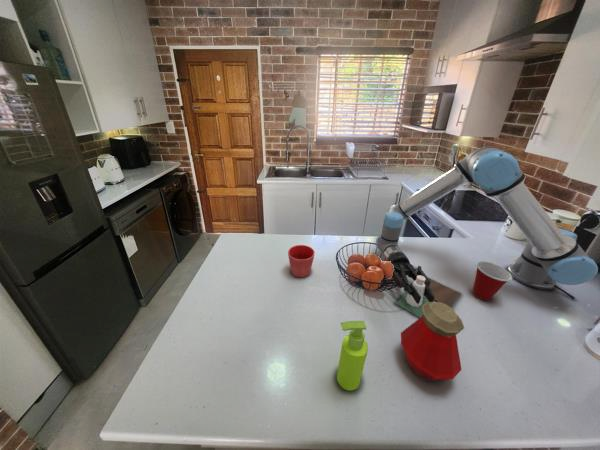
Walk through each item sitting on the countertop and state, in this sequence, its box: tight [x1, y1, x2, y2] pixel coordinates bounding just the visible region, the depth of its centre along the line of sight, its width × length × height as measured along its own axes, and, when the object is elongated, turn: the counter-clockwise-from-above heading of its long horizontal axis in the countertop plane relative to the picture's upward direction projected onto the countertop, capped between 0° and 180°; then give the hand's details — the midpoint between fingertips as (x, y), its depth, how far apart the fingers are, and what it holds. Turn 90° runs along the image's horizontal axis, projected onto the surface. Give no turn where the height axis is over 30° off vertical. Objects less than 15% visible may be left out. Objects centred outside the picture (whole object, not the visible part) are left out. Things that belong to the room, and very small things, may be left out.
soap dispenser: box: [336, 320, 369, 392], centre depth 59 cm, size 6×7×20 cm
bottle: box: [400, 301, 465, 382], centre depth 63 cm, size 16×14×20 cm
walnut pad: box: [427, 277, 461, 308], centre depth 95 cm, size 14×11×1 cm
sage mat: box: [395, 291, 429, 319], centre depth 87 cm, size 14×11×1 cm
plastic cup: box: [472, 260, 513, 301], centre depth 91 cm, size 11×11×12 cm
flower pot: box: [287, 244, 316, 278], centre depth 101 cm, size 11×11×10 cm
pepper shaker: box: [406, 275, 426, 307], centre depth 86 cm, size 5×5×11 cm
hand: (425, 300), depth 81 cm, fingers closed on pepper shaker, 4 cm apart
